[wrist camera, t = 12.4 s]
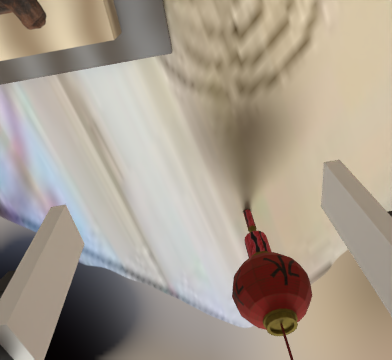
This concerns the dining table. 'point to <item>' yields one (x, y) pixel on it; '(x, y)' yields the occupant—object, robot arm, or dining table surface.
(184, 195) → the dining table surface
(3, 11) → the pottery mug
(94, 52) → the build base
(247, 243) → the lantern
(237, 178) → the dining table surface
